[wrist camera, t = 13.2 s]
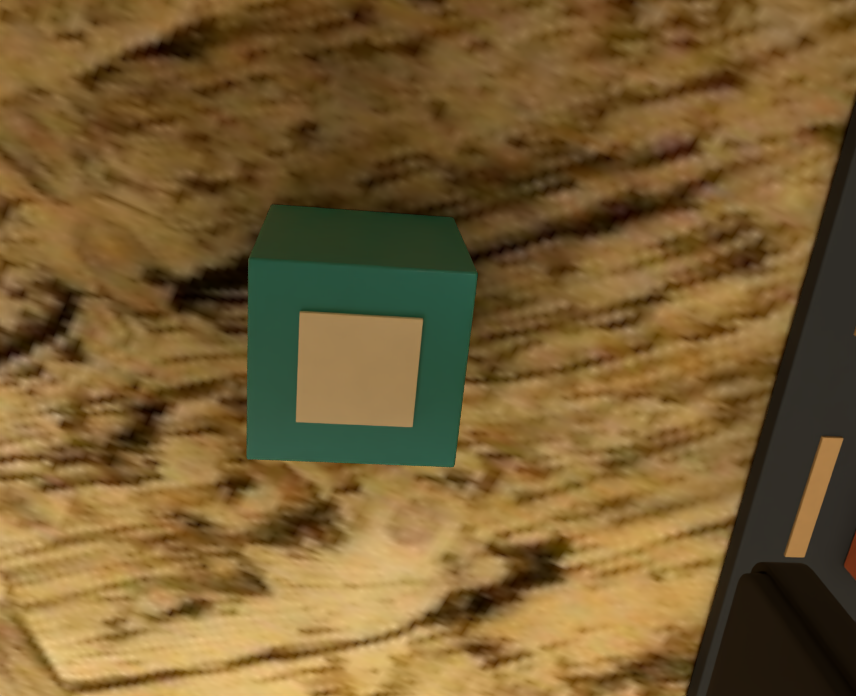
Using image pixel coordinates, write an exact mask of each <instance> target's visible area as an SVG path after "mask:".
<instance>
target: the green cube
mask: <svg viewBox="0 0 856 696" xmlns="http://www.w3.org/2000/svg"><path fill="white" fill-rule="evenodd" d="M477 278H478V273H477V271H476V268H475V266H474V264H473V262H472V259H471V257H470V255H469V252H468V250H467V248H466V246H465V243H464V241H463V239H462V236H461V234H460V232H459V230H458V227H457V225H456V223H455V220H454V218H452V217H440V216H426V215H412V214H399V213H385V212H371V211H357V210H344V209H330V208H316V207H303V206H289V205H275V204H272V205H271V206H270V209H269V211H268V213H267V216H266V218H265V221H264V223H263V225H262V228H261V230H260V233H259V235H258V237H257V240H256V242H255V245H254V247H253V250H252V252H251V254H250V257H249V259H248V346H247V458H248V459H258V460H283V461H309V462H334V463H360V464H385V465H411V466H436V467H454V465H455V458H456V450H457V442H458V434H459V425H460V417H461V409H462V401H463V393H464V385H465V376H466V368H467V360H468V352H469V344H470V336H471V327H472V319H473V311H474V303H475V295H476V286H477Z"/></svg>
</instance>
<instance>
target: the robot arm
mask: <svg viewBox="0 0 856 696" xmlns="http://www.w3.org/2000/svg"><path fill="white" fill-rule="evenodd" d="M706 696H856V622H855V621H854V620H853V619H852V617H851V616H850V615H849V614H848V613H847V611H846V610H845V609H844V608H843V606H842V605H841V604H840V603H839V602H838V600H837V599H836V598H835V597H834V595H833V594H832V593H831V592H830V591H829V589H828V588H827V587H826V586H825V584H824V583H823V582H822V581H821V579H820V578H819V577H818V576H817V575H816V573H815V572H814V571H813V570H812V569H811V568H810V567H809V566H808V565H806V564H803V563H784V562H760V563H756V565H755V566H754V567H753V568H752V570H751V572H750V573H745V574H743V575H742V576H741V577H740V579H739V581H738V583H737V587H736V591H735V594H734V598H733V601H732V605H731V608H730V612H729V615H728V619H727V622H726V626H725V630H724V633H723V637H722V640H721V644H720V647H719V651H718V654H717V658H716V661H715V665H714V669H713V672H712V676H711V679H710V683H709V686H708V690H707V693H706Z"/></svg>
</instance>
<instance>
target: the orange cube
mask: <svg viewBox="0 0 856 696" xmlns="http://www.w3.org/2000/svg"><path fill="white" fill-rule="evenodd" d="M844 567H845V568H846V570H847V571H848V572H849V573H850V574H851V575H852V577H853V578H854V579H855V580H856V532H855V535H854V538H853V540H852V543H851V546H850V549H849V552H848V555H847V557H846V560H845V563H844Z"/></svg>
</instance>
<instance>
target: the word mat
mask: <svg viewBox="0 0 856 696" xmlns="http://www.w3.org/2000/svg"><path fill="white" fill-rule="evenodd" d="M855 532H856V103H855V106H854V110H853V113H852V117H851V120H850V124H849V127H848V131H847V134H846V138H845V142H844V145H843V149H842V152H841V156H840V159H839V163H838V166H837V170H836V173H835V177H834V180H833V184H832V187H831V191H830V194H829V198H828V201H827V205H826V208H825V212H824V215H823V219H822V222H821V226H820V229H819V233H818V236H817V240H816V243H815V247H814V250H813V254H812V257H811V261H810V264H809V268H808V271H807V275H806V279H805V282H804V286H803V289H802V293H801V296H800V300H799V303H798V307H797V310H796V314H795V317H794V321H793V324H792V328H791V331H790V335H789V338H788V342H787V345H786V349H785V352H784V356H783V359H782V363H781V366H780V370H779V373H778V377H777V380H776V384H775V387H774V391H773V394H772V398H771V401H770V405H769V408H768V412H767V415H766V419H765V423H764V426H763V430H762V433H761V437H760V440H759V444H758V447H757V451H756V454H755V458H754V461H753V465H752V468H751V472H750V475H749V479H748V482H747V486H746V489H745V493H744V496H743V500H742V503H741V507H740V510H739V514H738V517H737V521H736V524H735V528H734V531H733V535H732V538H731V542H730V545H729V549H728V552H727V556H726V560H725V563H724V567H723V570H722V574H721V577H720V581H719V584H718V588H717V591H716V595H715V598H714V602H713V605H712V609H711V612H710V616H709V619H708V623H707V626H706V630H705V633H704V637H703V640H702V644H701V647H700V651H699V654H698V658H697V661H696V665H695V668H694V672H693V675H692V679H691V682H690V686H689V689H688V693H687V696H706V693H707V690H708V686H709V683H710V679H711V676H712V672H713V669H714V665H715V661H716V658H717V654H718V651H719V647H720V644H721V640H722V637H723V633H724V630H725V626H726V622H727V619H728V615H729V612H730V608H731V605H732V601H733V598H734V594H735V591H736V587H737V583H738V581H739V579H740V577H741V576H742V575H743V574H745V573H750V572H751V570H752V568H753V567H754V566H755V565H756V563H760V562H784V563H803V564H806V565H808V566H809V567H810V568H811V569H812V570H813V571H814V572H815V573H816V575H817V576H818V577H819V578H820V579H821V581H822V582H823V583H824V584H825V586H826V587H827V588H828V589H829V591H830V592H831V593H832V594H833V595H834V597H835V598H836V599H837V600H838V602H839V603H840V604H841V605H842V606H843V608H844V609H845V610H846V611H847V613H848V614H849V615H850V616H851V617H852V619H853V620H854V621H855V622H856V580H855V579H854V578H853V577H852V575H851V574H850V573H849V572H848V571H847V570H846V568H845V567H844V563H845V560H846V557H847V555H848V552H849V549H850V546H851V543H852V540H853V538H854V535H855Z"/></svg>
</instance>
